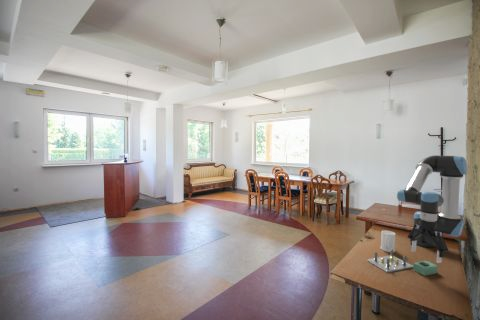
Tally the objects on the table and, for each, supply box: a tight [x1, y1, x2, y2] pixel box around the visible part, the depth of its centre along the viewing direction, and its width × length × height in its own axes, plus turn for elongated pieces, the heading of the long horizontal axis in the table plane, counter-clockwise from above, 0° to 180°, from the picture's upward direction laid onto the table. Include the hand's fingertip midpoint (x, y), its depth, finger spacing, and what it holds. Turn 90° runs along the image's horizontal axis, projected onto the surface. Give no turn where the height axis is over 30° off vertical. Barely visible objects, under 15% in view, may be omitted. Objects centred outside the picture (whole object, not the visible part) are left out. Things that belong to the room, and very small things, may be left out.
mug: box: [379, 229, 396, 253], centre depth 159 cm, size 12×8×12 cm
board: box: [412, 260, 439, 277], centre depth 133 cm, size 10×6×5 cm, turn 107°
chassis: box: [366, 250, 414, 274], centre depth 141 cm, size 20×14×6 cm
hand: (425, 256), depth 132 cm, fingers open, 13 cm apart
